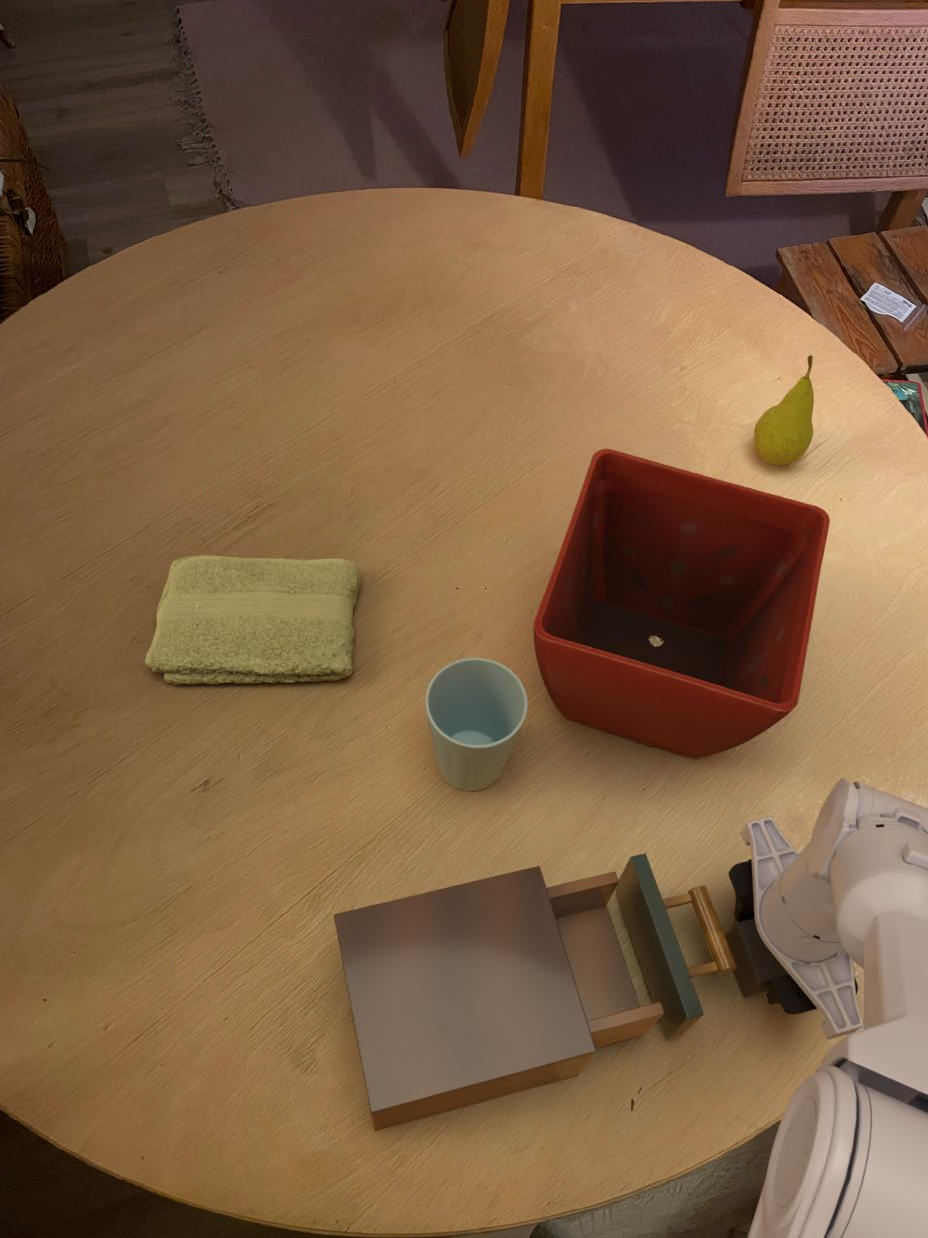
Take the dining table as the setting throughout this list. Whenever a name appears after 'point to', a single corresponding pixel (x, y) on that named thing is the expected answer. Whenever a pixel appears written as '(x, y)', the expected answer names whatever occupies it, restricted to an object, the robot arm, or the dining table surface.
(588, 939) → the drawer
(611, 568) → the flower pot
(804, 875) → the robot arm
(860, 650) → the dining table surface
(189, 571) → the washcloth
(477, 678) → the cup
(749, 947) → the block
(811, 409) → the fruit
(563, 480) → the dining table surface
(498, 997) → the cabinet
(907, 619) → the dining table surface
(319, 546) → the dining table surface
